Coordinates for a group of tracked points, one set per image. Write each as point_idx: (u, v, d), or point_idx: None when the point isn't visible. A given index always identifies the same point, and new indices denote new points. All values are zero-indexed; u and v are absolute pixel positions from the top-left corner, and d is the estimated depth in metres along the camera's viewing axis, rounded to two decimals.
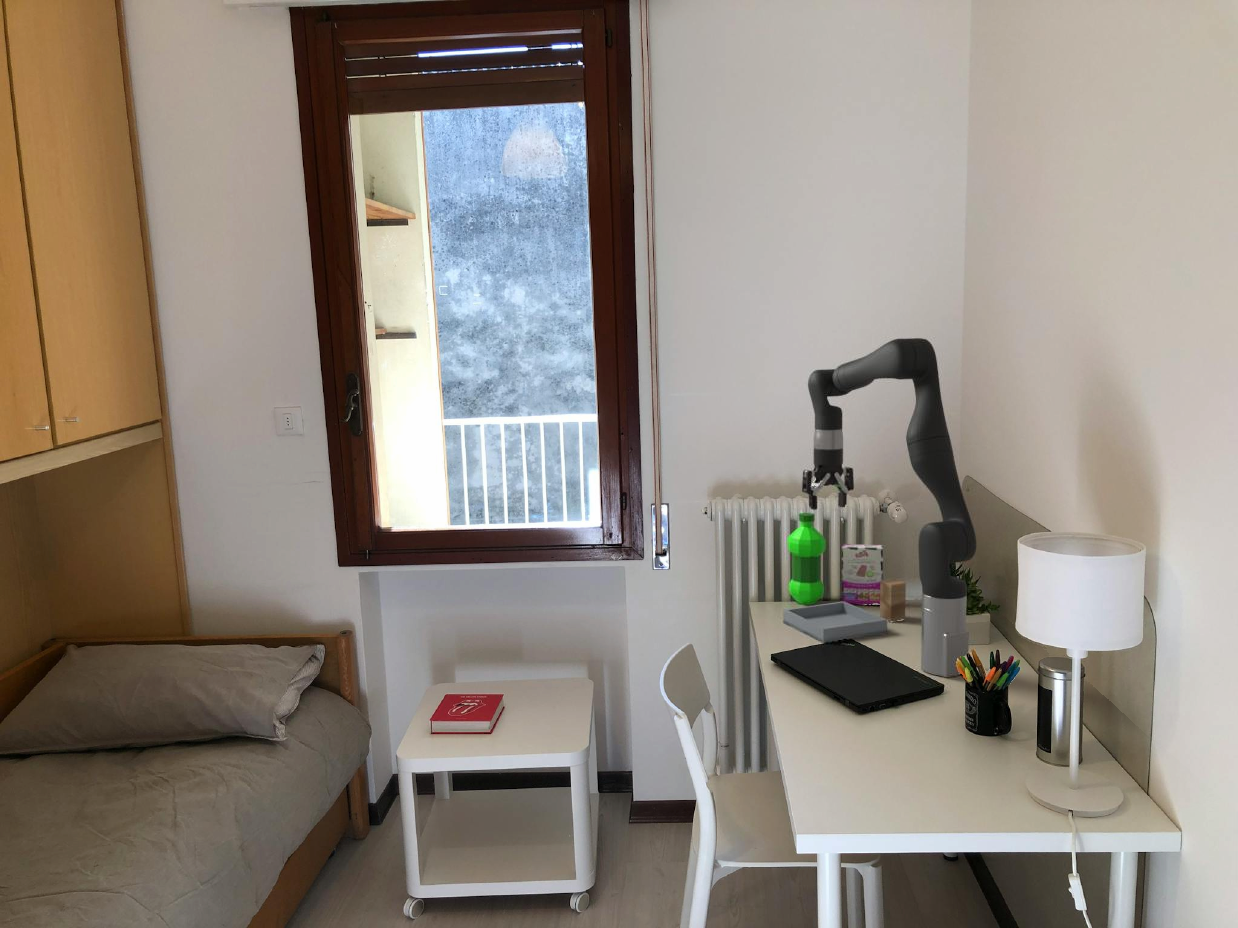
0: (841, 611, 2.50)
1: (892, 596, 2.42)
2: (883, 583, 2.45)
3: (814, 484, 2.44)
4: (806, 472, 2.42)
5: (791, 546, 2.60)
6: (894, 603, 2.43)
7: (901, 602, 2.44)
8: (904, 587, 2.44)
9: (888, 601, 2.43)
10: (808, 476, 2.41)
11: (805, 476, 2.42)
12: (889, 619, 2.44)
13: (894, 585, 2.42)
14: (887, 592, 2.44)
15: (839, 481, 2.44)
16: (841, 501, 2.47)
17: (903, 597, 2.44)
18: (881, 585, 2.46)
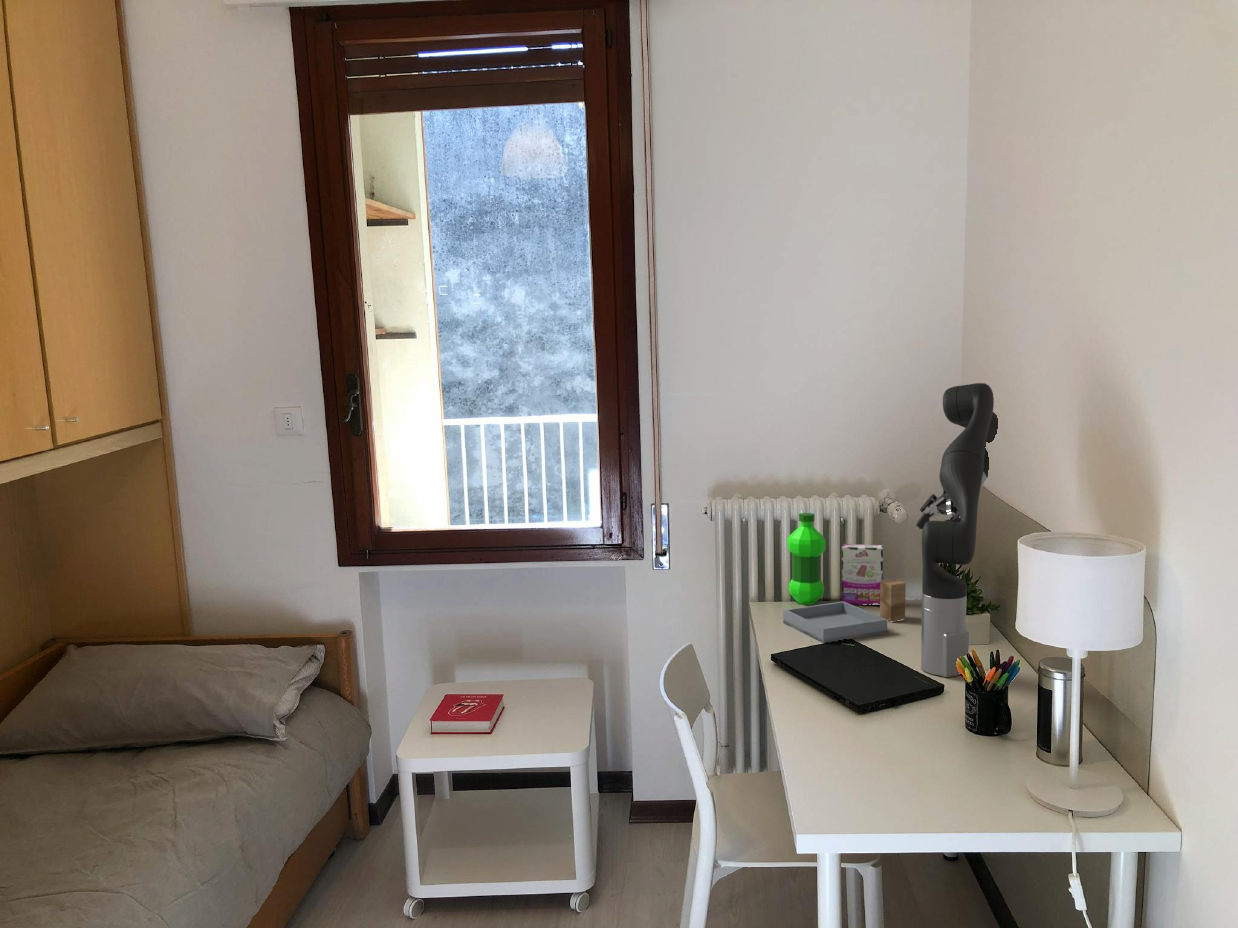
0: (841, 611, 2.50)
1: (892, 596, 2.42)
2: (883, 583, 2.45)
3: None
4: None
5: (791, 546, 2.60)
6: (894, 603, 2.43)
7: (901, 602, 2.44)
8: (904, 587, 2.44)
9: (888, 601, 2.43)
10: (929, 498, 2.55)
11: None
12: (889, 619, 2.44)
13: (894, 585, 2.42)
14: (887, 592, 2.44)
15: (947, 507, 2.46)
16: None
17: (903, 597, 2.44)
18: (881, 585, 2.46)
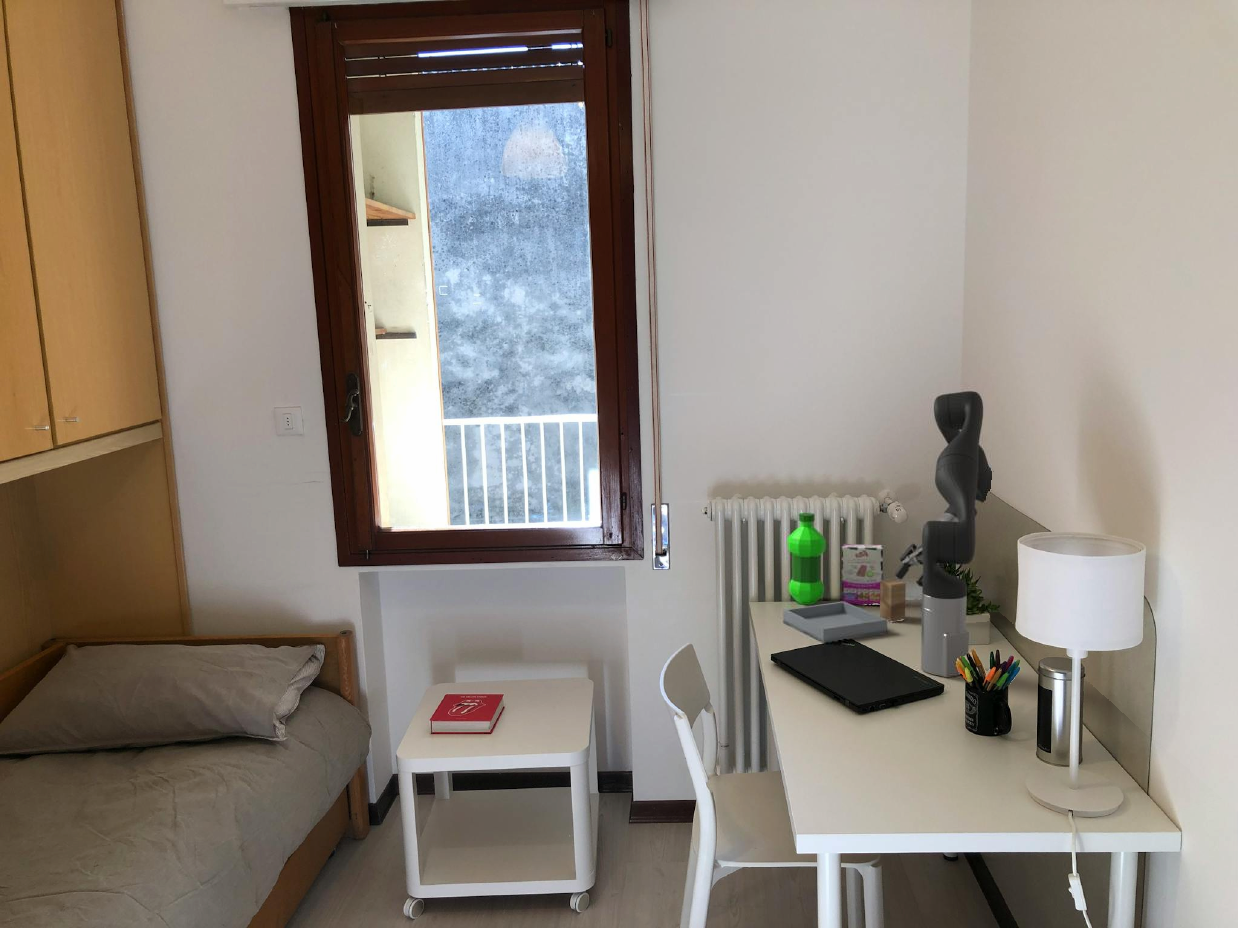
0: (841, 611, 2.50)
1: (892, 596, 2.42)
2: (883, 583, 2.45)
3: None
4: None
5: (791, 546, 2.60)
6: (894, 603, 2.43)
7: (901, 602, 2.44)
8: (904, 587, 2.44)
9: (888, 601, 2.43)
10: (909, 547, 2.54)
11: None
12: (889, 619, 2.44)
13: (894, 585, 2.42)
14: (887, 592, 2.44)
15: None
16: None
17: (903, 597, 2.44)
18: (881, 585, 2.46)
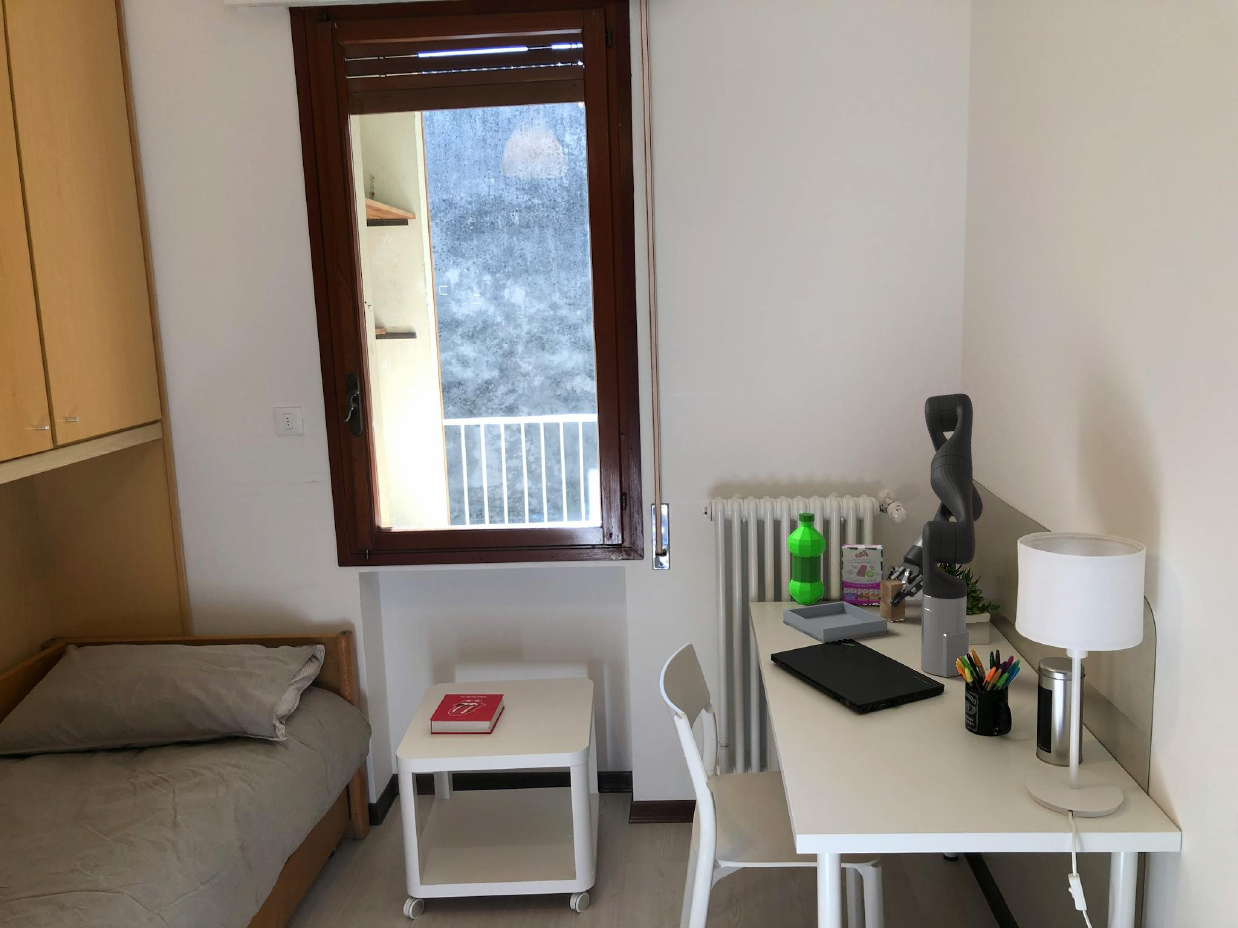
0: (841, 611, 2.50)
1: (892, 595, 2.43)
2: (883, 583, 2.45)
3: None
4: None
5: (791, 546, 2.60)
6: None
7: (901, 602, 2.44)
8: None
9: (888, 601, 2.44)
10: (888, 569, 2.52)
11: None
12: (889, 619, 2.44)
13: (894, 585, 2.42)
14: (887, 592, 2.44)
15: (904, 577, 2.44)
16: None
17: None
18: (881, 585, 2.46)
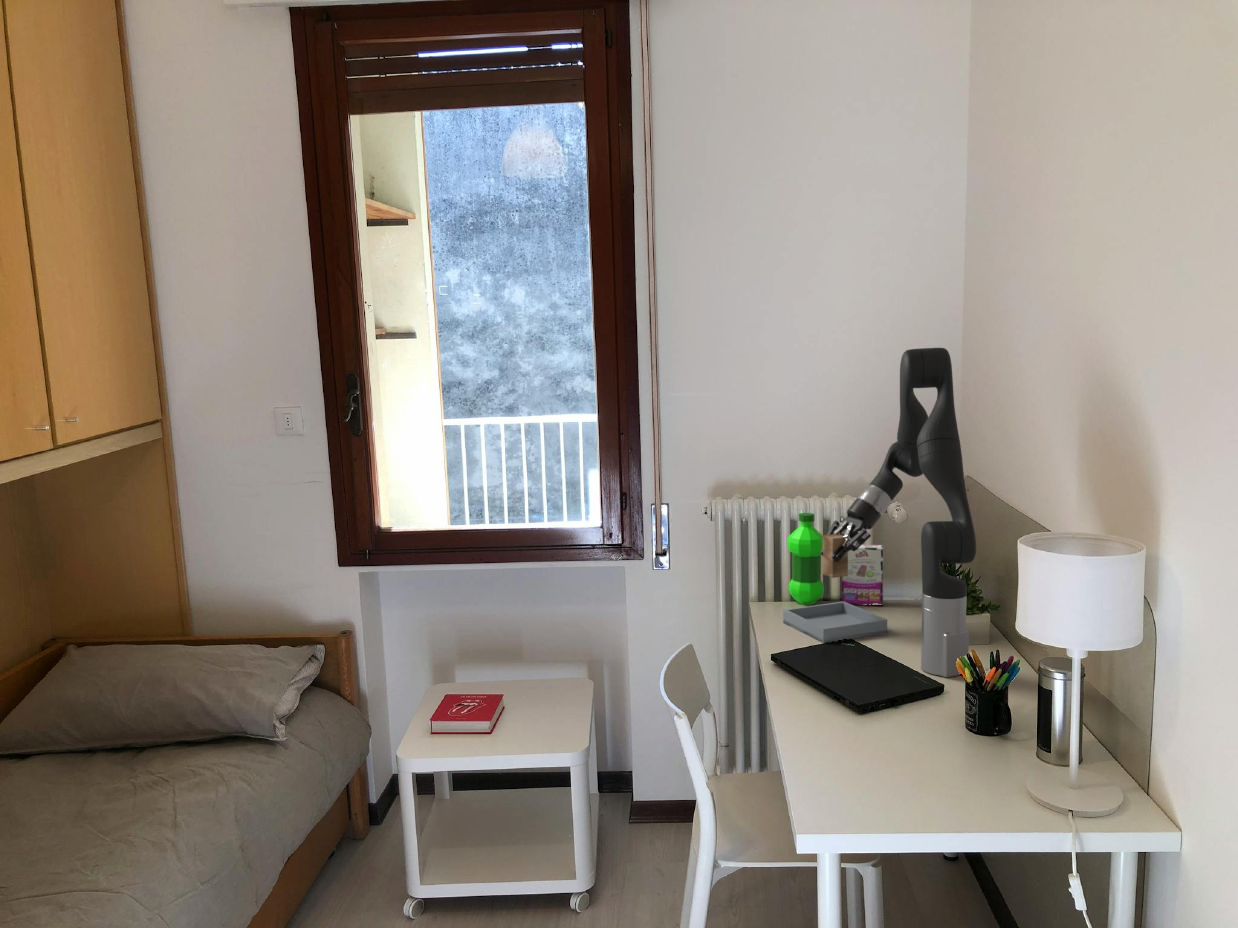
0: (841, 611, 2.50)
1: (834, 550, 2.34)
2: (825, 537, 2.37)
3: None
4: None
5: (791, 546, 2.60)
6: None
7: (843, 557, 2.36)
8: None
9: (830, 555, 2.35)
10: (832, 524, 2.43)
11: None
12: (831, 574, 2.36)
13: (836, 539, 2.34)
14: (829, 546, 2.36)
15: (846, 531, 2.36)
16: None
17: None
18: (823, 539, 2.38)
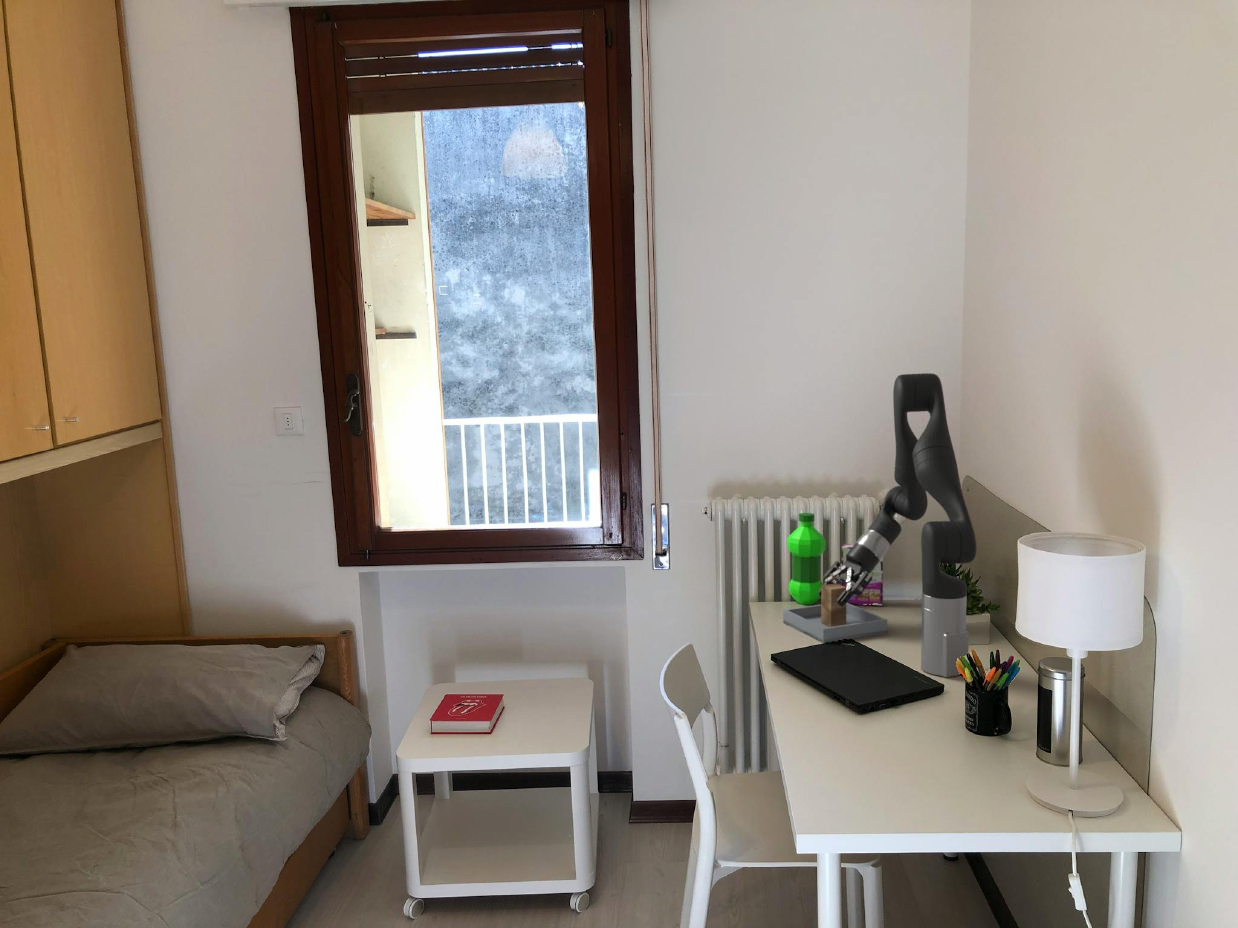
0: None
1: (833, 600, 2.36)
2: (824, 587, 2.39)
3: None
4: None
5: (791, 546, 2.60)
6: (834, 608, 2.37)
7: (842, 607, 2.37)
8: None
9: (828, 606, 2.37)
10: (833, 564, 2.45)
11: None
12: (829, 624, 2.37)
13: (834, 590, 2.36)
14: (827, 596, 2.37)
15: (848, 576, 2.37)
16: None
17: None
18: (822, 589, 2.40)
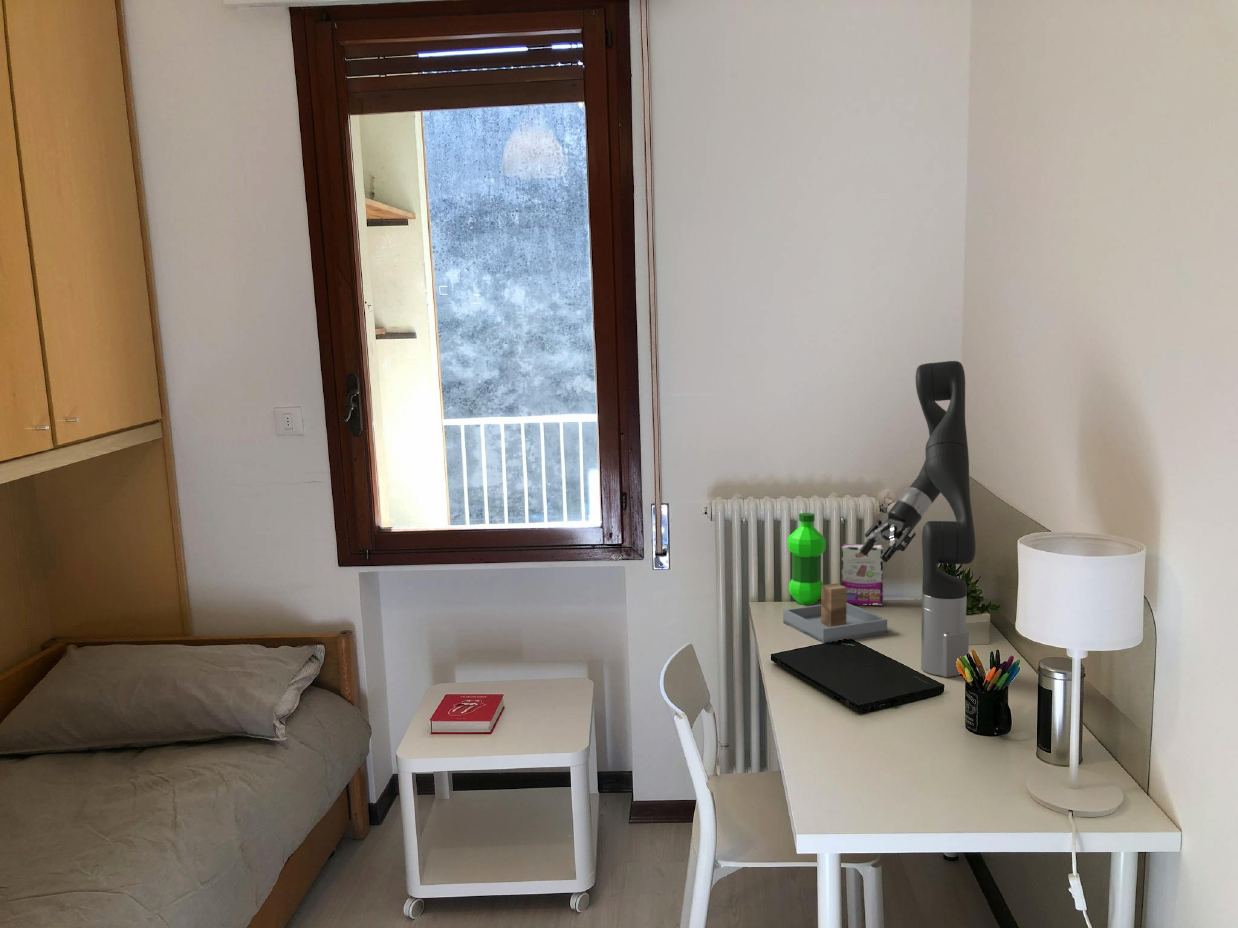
0: None
1: (833, 600, 2.36)
2: (824, 587, 2.39)
3: None
4: None
5: (791, 546, 2.60)
6: (834, 608, 2.37)
7: (842, 607, 2.37)
8: (845, 592, 2.37)
9: (828, 606, 2.37)
10: (875, 522, 2.49)
11: None
12: (829, 624, 2.37)
13: (834, 590, 2.36)
14: (827, 596, 2.37)
15: (891, 533, 2.40)
16: None
17: (844, 602, 2.37)
18: (822, 589, 2.40)
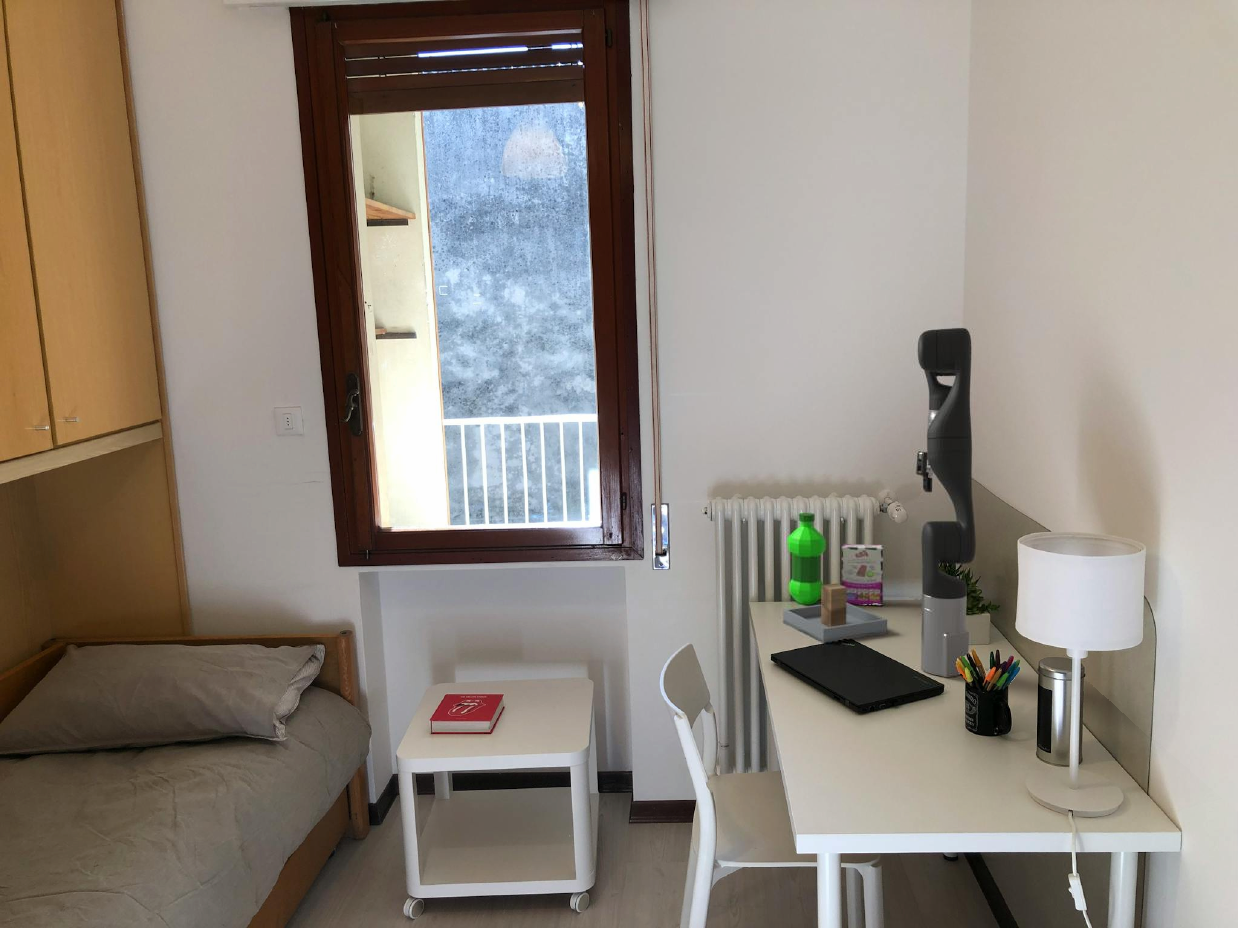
0: None
1: (833, 600, 2.36)
2: (824, 587, 2.39)
3: (928, 466, 2.38)
4: (921, 454, 2.36)
5: (791, 546, 2.60)
6: (834, 608, 2.37)
7: (842, 607, 2.37)
8: (845, 592, 2.37)
9: (828, 606, 2.37)
10: (924, 458, 2.35)
11: (920, 458, 2.36)
12: (829, 624, 2.37)
13: (834, 590, 2.36)
14: (827, 596, 2.37)
15: None
16: None
17: (844, 602, 2.37)
18: (822, 589, 2.40)
